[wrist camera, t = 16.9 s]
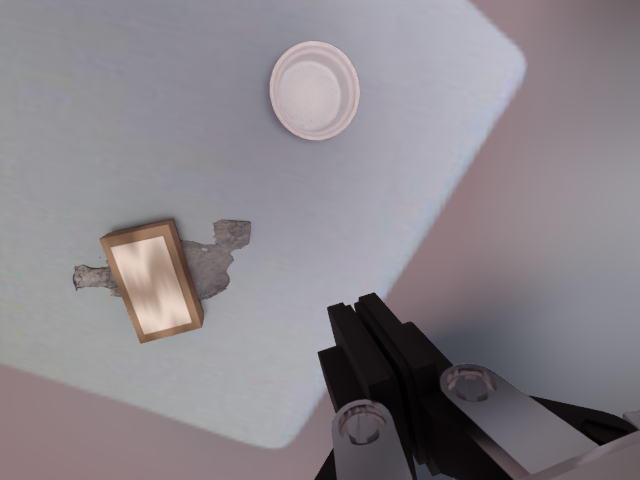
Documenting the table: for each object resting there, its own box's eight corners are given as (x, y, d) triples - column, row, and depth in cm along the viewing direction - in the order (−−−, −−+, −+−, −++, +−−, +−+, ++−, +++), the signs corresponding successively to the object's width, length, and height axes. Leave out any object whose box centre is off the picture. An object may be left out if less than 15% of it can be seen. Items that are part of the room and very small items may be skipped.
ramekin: (347, 52, 36) (360, 41, 32) (348, 139, 39) (360, 138, 35) (263, 51, 35) (265, 39, 31) (270, 142, 37) (273, 142, 33)
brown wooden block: (172, 219, 36) (108, 233, 35) (167, 224, 34) (98, 239, 33) (204, 317, 40) (146, 332, 39) (201, 328, 38) (140, 344, 37)
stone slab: (250, 218, 38) (246, 302, 40) (250, 215, 40) (247, 296, 42) (68, 207, 35) (73, 301, 36) (77, 205, 36) (81, 294, 38)
